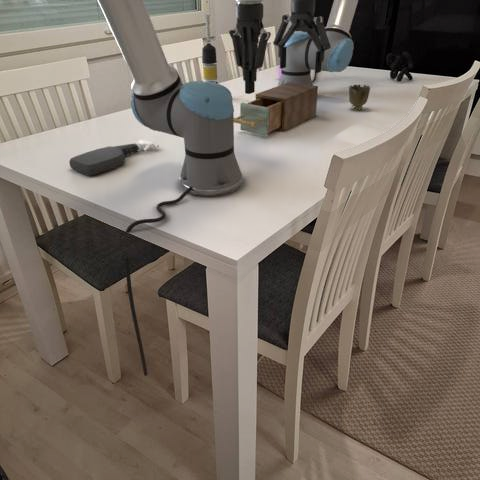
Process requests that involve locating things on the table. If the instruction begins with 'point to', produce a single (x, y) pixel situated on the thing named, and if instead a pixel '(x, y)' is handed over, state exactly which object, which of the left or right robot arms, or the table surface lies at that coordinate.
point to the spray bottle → (106, 157)
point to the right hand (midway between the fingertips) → (299, 70)
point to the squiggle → (399, 66)
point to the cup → (358, 96)
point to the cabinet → (293, 102)
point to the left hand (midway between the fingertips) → (249, 92)
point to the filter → (209, 57)
